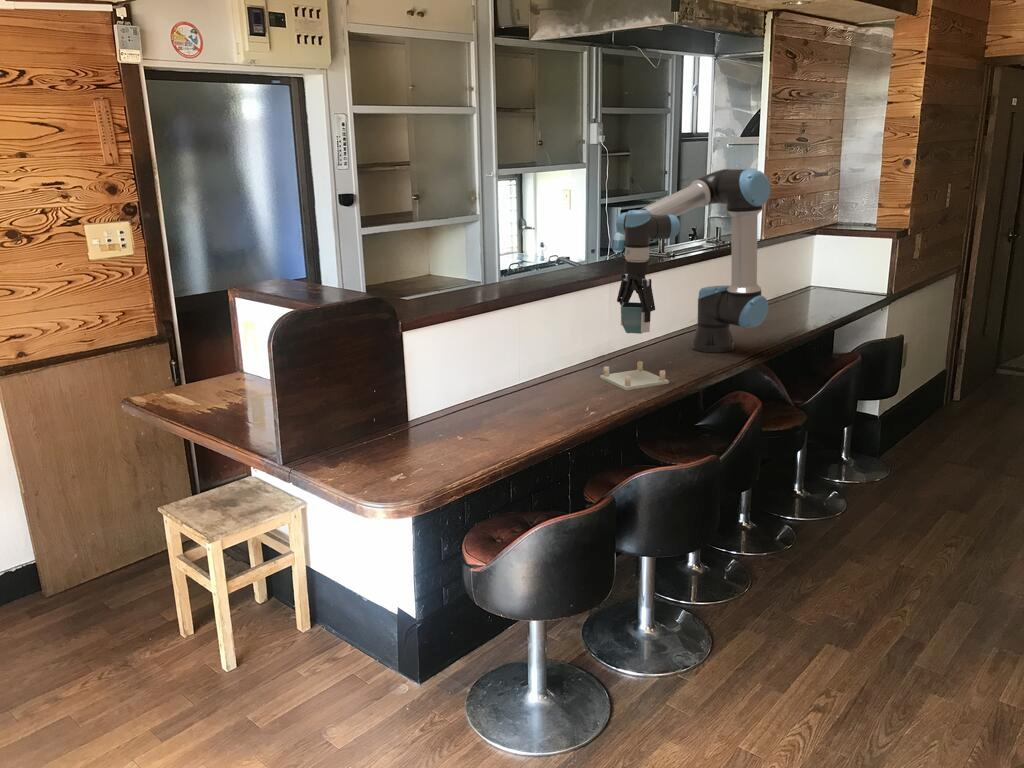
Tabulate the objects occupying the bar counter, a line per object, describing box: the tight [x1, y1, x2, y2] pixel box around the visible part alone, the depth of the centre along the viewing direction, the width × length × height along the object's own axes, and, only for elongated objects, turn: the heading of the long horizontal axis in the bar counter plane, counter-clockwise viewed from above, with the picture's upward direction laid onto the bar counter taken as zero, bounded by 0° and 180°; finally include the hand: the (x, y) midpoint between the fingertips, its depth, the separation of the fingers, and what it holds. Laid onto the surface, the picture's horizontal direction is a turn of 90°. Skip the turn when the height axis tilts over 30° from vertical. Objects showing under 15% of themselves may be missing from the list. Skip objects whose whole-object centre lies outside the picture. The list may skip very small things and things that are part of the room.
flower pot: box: [620, 301, 643, 335], centre depth 267 cm, size 9×9×9 cm
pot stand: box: [599, 360, 670, 391], centre depth 271 cm, size 16×16×4 cm
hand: (634, 328), depth 268 cm, fingers closed on flower pot, 12 cm apart
